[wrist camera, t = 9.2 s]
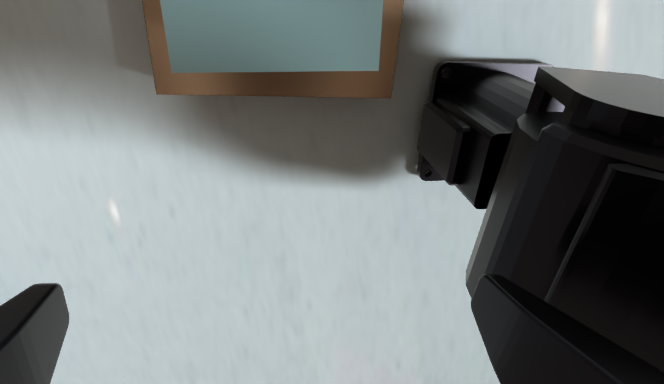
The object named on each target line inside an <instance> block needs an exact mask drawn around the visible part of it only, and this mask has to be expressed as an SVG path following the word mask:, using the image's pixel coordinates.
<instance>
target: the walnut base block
mask: <svg viewBox="0 0 664 384" xmlns="http://www.w3.org/2000/svg"><path fill="white" fill-rule="evenodd" d="M142 2H143V9H144V15H145V22H146V29H147V35H148V42H149V48H150V55H151V62H152V68H153V75H154V82H155V88H156V94H170V95H231V96H292V97H354V98H391V94H392V86H393V78H394V71H395V63H396V56H397V48H398V40H399V33H400V25H401V18H402V10H403V2H404V0H383V12H382V27H381V42H380V57H379V71H308V72H215V73H171V67H170V60H169V54H168V48H167V42H166V35H165V29H164V23H163V16H162V10H161V4H160V0H142Z"/></svg>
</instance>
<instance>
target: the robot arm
mask: <svg viewBox="0 0 664 384" xmlns="http://www.w3.org/2000/svg"><path fill="white" fill-rule="evenodd" d="M445 68H448V73H447V74H446V75H445V76H442V71H443V70H444V69H445ZM417 149H418V151H419V152H420V156H419V162H418V168H417V173H418V175H419V177H420V178H421V179H422V180H424V181H439V180H445V181H446V182H447V183H448V185H455V186H456V187H457V188H458V189H459V190H460V191H461V192H462V194H463V195H464V196H465V197H466V198H467V199H468V200H469V201H470V202H471V203H472V205H473V206H474V207H475V208H476V209H487V210H486V213H485V216H484V219H483V222H482V225H481V228H480V231H479V234H478V237H477V240H476V243H475V246H474V249H473V252H472V255H471V258H470V261H469V264H468V267H467V270H466V287H467V289H468V291H469V294H470V296H471V298H472V300H471V308H472V312H473V315H474V317H475V320H476V323H477V326H478V328H479V331H480V334H481V336H482V339H483V342H484V345H485V347H486V350H487V353H488V355H489V358H490V361H491V363H492V366H493V368H494V371H495V373H496V375H497V377H498V379H499V381H500V383H501V384H664V79H659V78H655V77H650V76H646V75H639V74H627V73H615V72H603V71H592V70H580V69H568V68H556V67H554V66H553V65H550V64H546V63H520V62H476V61H442V62H440V63H438V64H437V66H436V67H435V70H434V74H433V80H432V86H431V92H430V98H429V101H428V102H427V103H426V104H425V106H424V110H423V116H422V122H421V128H420V134H419V140H418V146H417ZM426 169H430V170H429V172H428V173H426V174H424V171H425V170H426ZM68 324H69V312H68V308H67V304H66V300H65V296H64V292H63V289H62V287H61V285H59V284H57V283H40V284H34V285H32V286H30V287H29V288H27V289H26V290H24V291H23V292H21V293H19V294H18V295H16V296H15V297H13V298H12V299H10V300H9V301H7V302H6V303H4V304H2V305H1V306H0V384H50V382H51V379H52V376H53V373H54V369H55V366H56V363H57V360H58V357H59V354H60V350H61V347H62V344H63V341H64V338H65V335H66V332H67V328H68Z"/></svg>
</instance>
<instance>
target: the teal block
mask: <svg viewBox="0 0 664 384" xmlns="http://www.w3.org/2000/svg"><path fill="white" fill-rule="evenodd" d="M160 4H161V10H162V16H163V23H164V29H165V35H166V42H167V48H168V54H169V60H170V67H171V73H215V72H308V71H379V57H380V42H381V27H382V12H383V0H160Z"/></svg>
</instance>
